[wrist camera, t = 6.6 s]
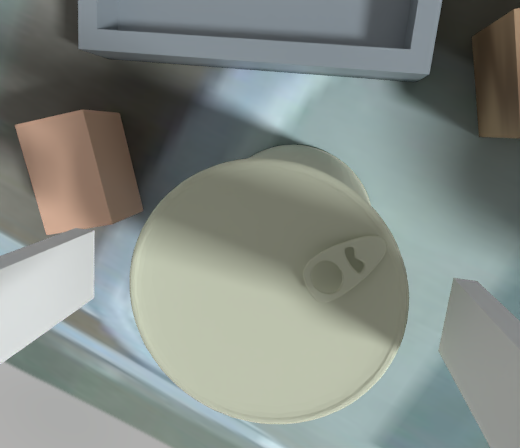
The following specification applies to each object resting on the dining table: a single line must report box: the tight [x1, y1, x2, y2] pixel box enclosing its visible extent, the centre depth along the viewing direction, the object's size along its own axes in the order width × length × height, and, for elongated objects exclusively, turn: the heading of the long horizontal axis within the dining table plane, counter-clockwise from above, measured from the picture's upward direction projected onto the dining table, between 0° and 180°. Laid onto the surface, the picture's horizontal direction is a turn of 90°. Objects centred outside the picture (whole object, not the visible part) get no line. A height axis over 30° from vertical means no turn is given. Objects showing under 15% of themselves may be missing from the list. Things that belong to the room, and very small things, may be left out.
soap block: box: [15, 109, 143, 235], centre depth 24 cm, size 6×4×4 cm, turn 11°
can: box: [130, 145, 409, 424], centre depth 19 cm, size 9×9×12 cm
